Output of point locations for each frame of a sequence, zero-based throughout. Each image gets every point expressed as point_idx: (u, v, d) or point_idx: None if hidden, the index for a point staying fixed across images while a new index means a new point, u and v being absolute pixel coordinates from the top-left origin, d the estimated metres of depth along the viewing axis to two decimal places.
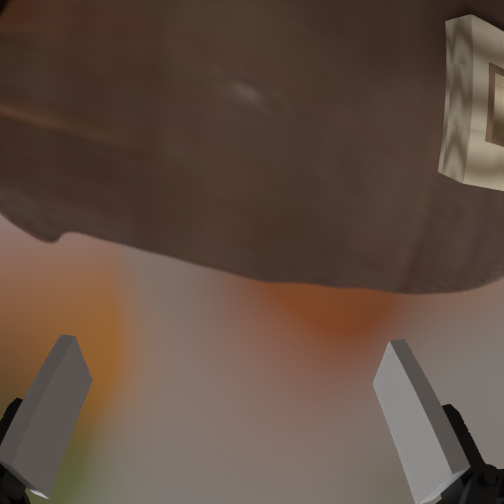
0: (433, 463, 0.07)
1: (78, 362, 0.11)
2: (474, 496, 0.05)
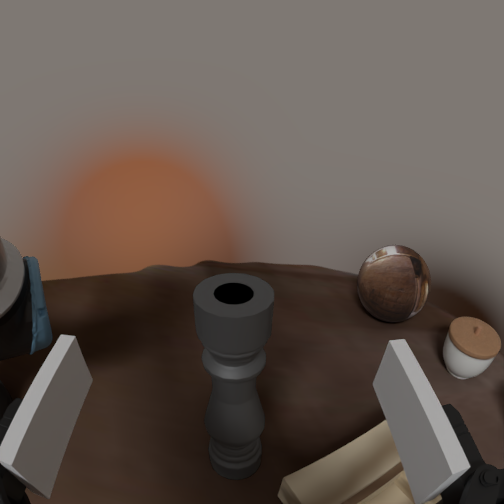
0: (433, 463, 0.07)
1: (78, 362, 0.11)
2: (474, 496, 0.05)
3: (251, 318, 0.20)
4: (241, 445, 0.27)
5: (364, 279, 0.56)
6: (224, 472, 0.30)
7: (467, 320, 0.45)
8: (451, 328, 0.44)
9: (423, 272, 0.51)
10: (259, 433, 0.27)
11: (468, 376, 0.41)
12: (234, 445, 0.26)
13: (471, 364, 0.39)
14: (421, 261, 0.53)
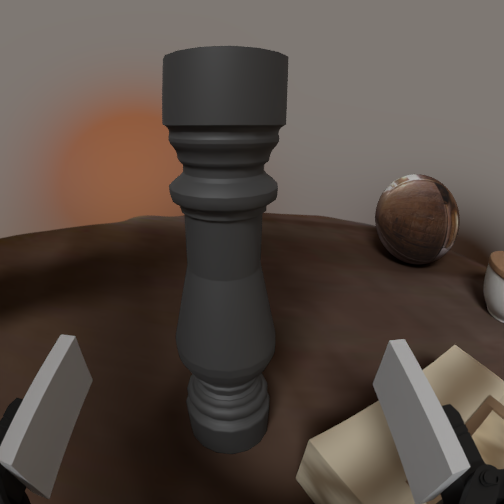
0: (433, 463, 0.07)
1: (78, 362, 0.11)
2: (474, 496, 0.05)
3: (253, 53, 0.10)
4: (236, 378, 0.17)
5: (384, 209, 0.46)
6: (210, 440, 0.20)
7: None
8: (492, 259, 0.34)
9: (451, 199, 0.42)
10: (267, 357, 0.17)
11: None
12: (224, 377, 0.17)
13: None
14: (447, 189, 0.43)
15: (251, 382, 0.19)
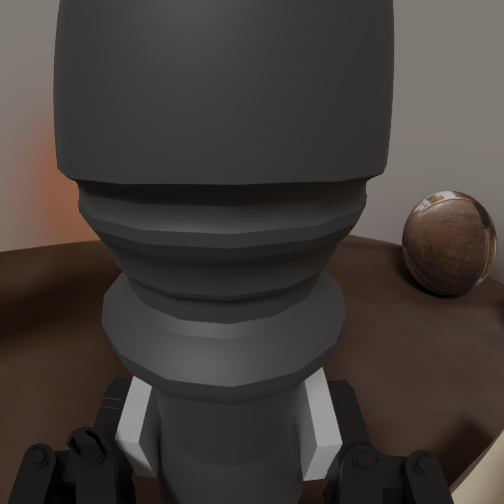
0: (308, 434, 0.09)
1: None
2: (351, 483, 0.07)
3: None
4: None
5: (415, 233, 0.38)
6: None
7: None
8: None
9: (490, 222, 0.33)
10: None
11: None
12: None
13: None
14: (485, 210, 0.34)
15: None
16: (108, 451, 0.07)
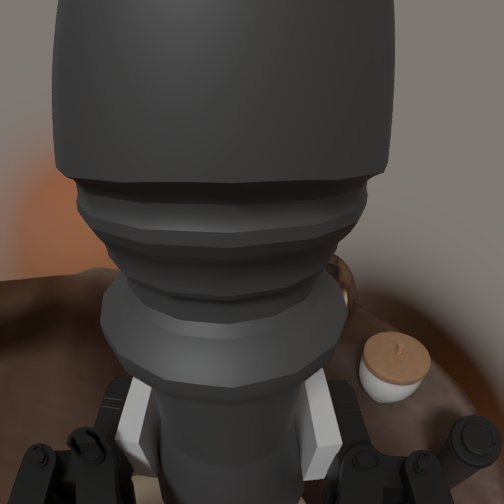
0: (308, 434, 0.09)
1: None
2: (351, 483, 0.07)
3: None
4: None
5: None
6: None
7: (391, 336, 0.44)
8: (366, 345, 0.43)
9: (340, 279, 0.50)
10: None
11: (386, 401, 0.39)
12: None
13: (386, 389, 0.38)
14: (340, 267, 0.51)
15: None
16: (108, 451, 0.07)
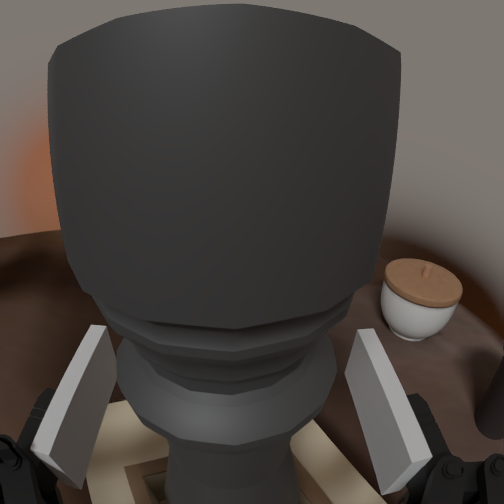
0: (395, 451, 0.08)
1: (108, 352, 0.12)
2: (438, 489, 0.06)
3: (338, 45, 0.02)
4: None
5: None
6: None
7: (414, 262, 0.39)
8: (387, 268, 0.37)
9: None
10: None
11: (416, 335, 0.34)
12: None
13: (416, 315, 0.32)
14: None
15: None
16: (22, 455, 0.06)
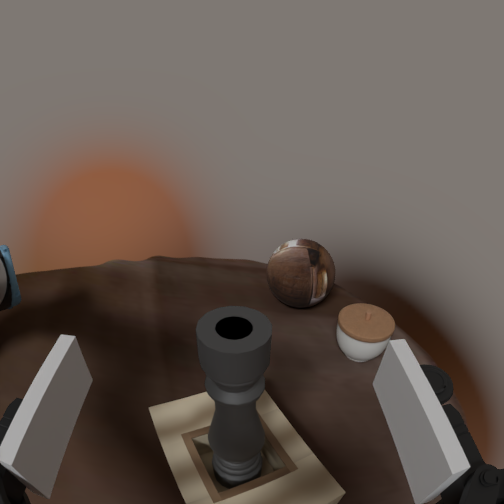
0: (433, 463, 0.07)
1: (78, 362, 0.11)
2: (474, 496, 0.05)
3: (250, 353, 0.21)
4: (243, 460, 0.28)
5: (268, 268, 0.68)
6: (227, 484, 0.31)
7: (362, 306, 0.57)
8: (340, 312, 0.56)
9: (320, 261, 0.63)
10: (259, 449, 0.28)
11: (359, 358, 0.52)
12: (236, 460, 0.27)
13: (356, 346, 0.51)
14: (320, 252, 0.64)
15: None
16: None
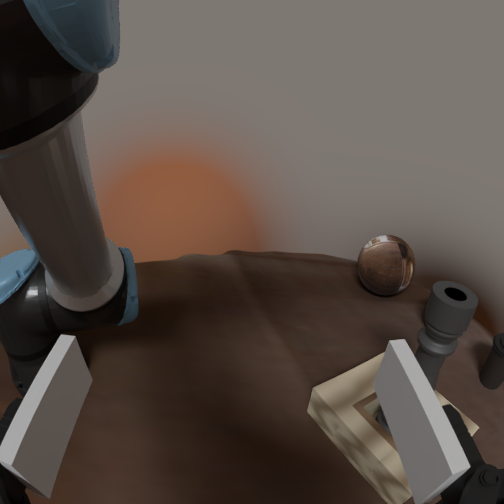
0: (433, 463, 0.07)
1: (78, 362, 0.11)
2: (474, 496, 0.05)
3: (474, 308, 0.26)
4: None
5: (362, 261, 0.73)
6: None
7: None
8: None
9: (408, 254, 0.68)
10: None
11: None
12: None
13: None
14: (407, 247, 0.69)
15: None
16: None
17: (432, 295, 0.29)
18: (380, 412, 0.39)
